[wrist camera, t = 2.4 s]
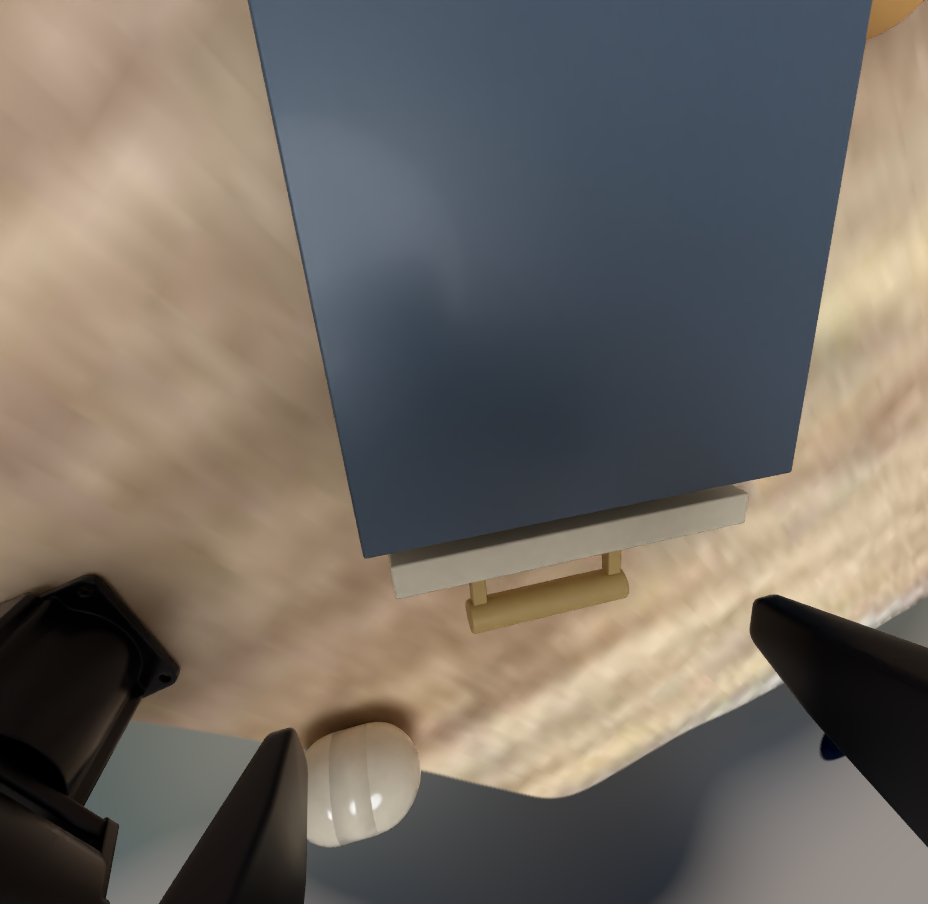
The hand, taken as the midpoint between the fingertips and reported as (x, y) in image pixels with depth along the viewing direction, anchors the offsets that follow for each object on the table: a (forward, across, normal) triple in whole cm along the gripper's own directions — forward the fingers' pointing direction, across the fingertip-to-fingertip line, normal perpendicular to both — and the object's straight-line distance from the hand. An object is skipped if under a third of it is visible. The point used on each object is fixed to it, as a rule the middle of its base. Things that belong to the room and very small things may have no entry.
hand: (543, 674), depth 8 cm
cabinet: (+13, -4, -8) cm, 16 cm away
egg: (+11, +7, +16) cm, 21 cm away
